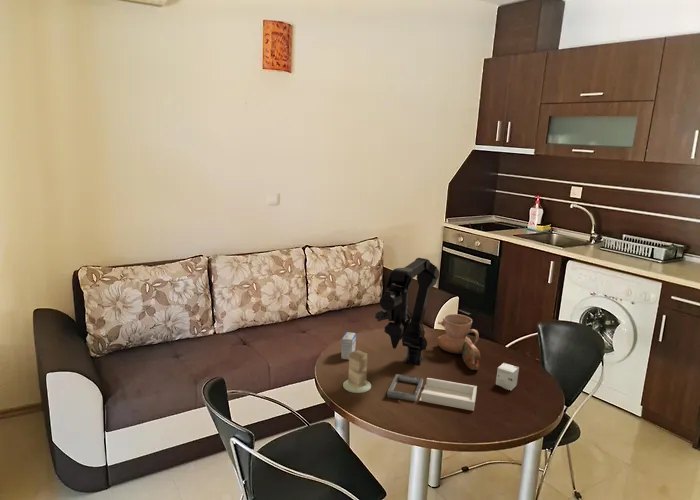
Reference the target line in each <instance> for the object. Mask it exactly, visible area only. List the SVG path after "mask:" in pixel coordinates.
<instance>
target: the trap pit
mask: <svg viewBox="0 0 700 500" xmlns="http://www.w3.org/2000/svg"><path fill="white" fill-rule="evenodd" d="M398 382H404V383H410V384H411V383H412V384H416V385H417V386H416V388H415V391H414V394H413V393H409V392H403V391H399V390H398V391H397V390H394V389H395V387H396V385H397V383H398ZM423 384H424V378H421V377H417V376H410V375H405V374H398V373H395V376H394V378H393V379H392V381H391V383H390V386H389V387H388V389H387V392H386V393H387V395H386V398H388V399H392V400H398V401H400V400H406V401H410V402H411V401H412V402H417V400H418V398H419V395H420V392H421V390H422V387H423Z"/></svg>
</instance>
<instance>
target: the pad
mask: <svg viewBox="0 0 700 500" xmlns="http://www.w3.org/2000/svg"><path fill="white" fill-rule="evenodd" d="M342 386H343V389H344V390H345V391H347V392H349V393H352V394H353V393H354V394H364V393H366V392H369V391H371V389H372V384H371V382H370V381H368V380H367V379H366V385H365V386H363V387H361V388H359V389H356V388H354V387H352V386H350V385H348V379H346V380H345V381H343V383H342Z"/></svg>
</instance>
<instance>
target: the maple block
mask: <svg viewBox="0 0 700 500" xmlns="http://www.w3.org/2000/svg"><path fill="white" fill-rule="evenodd" d="M367 370H368V353H366V352H364V351H363V350H362V351H361V350H360V349H356V350H355V351H354V352H351V353H349V360H348V379H347V380H348V385H350V386H352V387H354V388H356V389H359V388H361V387H363V386H365V385H366V380H367V373H368V372H367Z"/></svg>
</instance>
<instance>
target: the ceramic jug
mask: <svg viewBox="0 0 700 500" xmlns="http://www.w3.org/2000/svg"><path fill="white" fill-rule="evenodd" d="M437 324H438V325H441V326H442V327H443V328H444V330H445V333H444V334H442V335H440V336H438V337H437V344H438V346H439V348H440V349H442V351H445V352H448V353H451V354H456V355H457V354H458V355H460V354H461V355H462V348H463V344H464V342H472V343H473V344H474V345H475V344H477V343H478V340H479V338H480V337H479V332H478V330H477V329H474V328H472V324H473V319H472V318H471V317H469V316H468V315H464V314H459V313H458V314H457V313H449V314H445V315H443V316H442V320H438V321H437ZM471 333H474V340H473V341H472V340H471V339H470V337H469V336H467V335H468V334H471ZM475 346H476V345H475Z"/></svg>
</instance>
